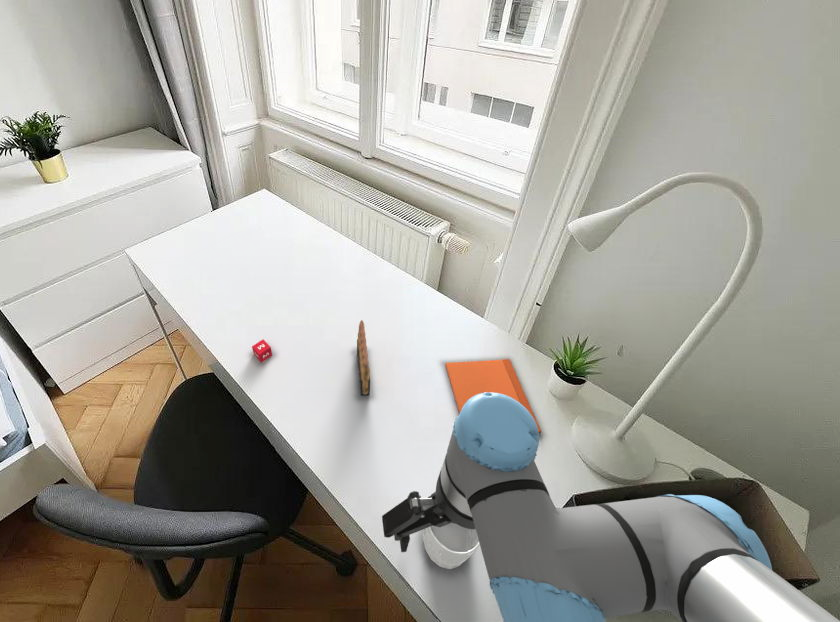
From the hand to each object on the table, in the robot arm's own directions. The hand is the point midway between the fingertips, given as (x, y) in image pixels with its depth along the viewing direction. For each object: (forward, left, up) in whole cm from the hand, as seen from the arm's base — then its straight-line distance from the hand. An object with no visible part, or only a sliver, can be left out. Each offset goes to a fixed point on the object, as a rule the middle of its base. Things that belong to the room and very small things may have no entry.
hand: (446, 538), depth 63 cm
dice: (+37, +32, -2) cm, 49 cm away
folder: (+24, -15, -2) cm, 28 cm away
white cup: (0, 0, -2) cm, 2 cm away
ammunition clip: (+31, +10, -2) cm, 33 cm away
